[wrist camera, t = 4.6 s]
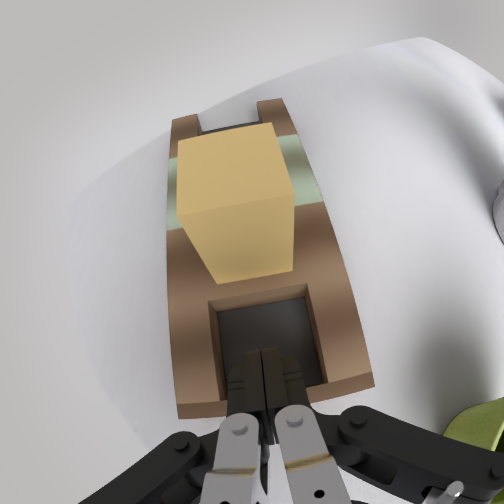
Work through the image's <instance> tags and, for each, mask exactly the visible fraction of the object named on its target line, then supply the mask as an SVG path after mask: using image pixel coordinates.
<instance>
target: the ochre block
mask: <svg viewBox="0 0 504 504" xmlns="http://www.w3.org/2000/svg"><path fill="white" fill-rule="evenodd" d="M294 200H295V193H294V190H293V187H292V183H291V180H290V177H289V174H288V171H287V168H286V164H285V161H284V158H283V155H282V152H281V149H280V146H279V143H278V140H277V137H276V134H275V131H274V128H273V125H272V122H269V123H263V124H257V125H251V126H245V127H240V128H234V129H229V130H224V131H219V132H215V133H210V134H206V135H201V136H197V137H193V138H188V139H184V140H180V141H178V156H177V218H178V220H179V222H180V223H181V225H182V227H183V228H184V230H185V232H186V234H187V235H188V237H189V239H190V240H191V242H192V244H193V245H194V247H195V249H196V251H197V252H198V254H199V256H200V257H201V259H202V261H203V262H204V264H205V265H206V267H207V269H208V270H209V272H210V274H211V275H212V277H213V279H214V280H215V282H216V283H217V284H223V283H229V282H234V281H240V280H246V279H251V278H257V277H262V276H268V275H273V274H278V273H284V272H289V271H293V243H294Z"/></svg>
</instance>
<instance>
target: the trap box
mask: <svg viewBox="0 0 504 504" xmlns="http://www.w3.org/2000/svg"><path fill="white" fill-rule="evenodd" d="M257 109H258V117H259V121H257V122H251V123H245V124H239V125H234V126H229V127H224V128H219V129H214V130H210V131H205V132H203V133H202V130H201V126H200V123H199V120H198V116H197V114H193V115H189V116H185V117H181V118H177V119H174V120H172V128H171V140H170V153H169V170H168V192H167V291H168V313H169V330H170V344H171V356H172V367H173V377H174V386H175V395H176V403H177V411H178V418H179V419H195V418H211V417H223V416H227V396H228V378H229V372H230V371H231V369H232V368H233V366H234V365H240V364H244V352H251V351H257V350H261V354H262V349H268V348H274V347H278V349H279V355H280V358H282V357H287V356H293V357H294V358H295V359H296V360H297V361H298V362H299V365H300V368H301V372H302V376H303V380H304V383H305V387H306V391H307V395H308V399H309V403H314V402H319V401H323V400H327V399H332V398H336V397H340V396H344V395H347V394H351V393H355V392H358V391H362V390H365V389H369V388H372V387H375V384H374V379H373V374H372V370H371V365H370V360H369V356H368V351H367V347H366V343H365V339H364V334H363V330H362V326H361V322H360V319H359V315H358V311H357V307H356V303H355V300H354V296H353V292H352V289H351V285H350V282H349V278H348V275H347V272H346V268H345V265H344V262H343V258H342V255H341V252H340V249H339V246H338V242H337V239H336V236H335V233H334V230H333V227H332V224H331V221H330V218H329V215H328V213H327V210H326V207H325V204H324V201H323V198H322V196H321V193H320V190H319V187H318V185H317V182H316V179H315V177H314V174H313V171H312V169H311V166H310V164H309V161H308V159H307V156H306V154H305V151H304V149H303V146H302V144H301V141H300V139H299V136H298V134H297V132H296V129H295V127H294V125H293V122H292V120H291V118H290V115H289V113H288V111H287V109H286V106H285V104H284V102H283V100H282V98H280V99H273V100H266V101H259V102H257ZM269 122H272V125H273V128H274V131H275V134H276V137H277V140H278V143H279V146H280V149H281V152H282V155H283V158H284V161H285V164H286V168H287V171H288V174H289V177H290V180H291V183H292V187H293V190H294V193H295V200H294V243H293V271H289V272H284V273H278V274H273V275H268V276H262V277H257V278H251V279H246V280H240V281H234V282H229V283H223V284H217V283H216V282H215V280H214V279H213V277H212V275H211V274H210V272H209V270H208V269H207V267H206V265H205V264H204V262H203V261H202V259H201V257H200V256H199V254H198V252H197V251H196V249H195V247H194V245H193V244H192V242H191V240H190V239H189V237H188V235H187V234H186V232H185V230H184V228H183V227H182V225H181V223H180V222H179V220H178V218H177V156H178V141H180V140H184V139H188V138H193V137H197V136H201V135H206V134H210V133H215V132H219V131H224V130H229V129H234V128H240V127H245V126H251V125H257V124H263V123H269ZM304 298H305V299H304ZM305 302H306V303H305ZM306 307H307V308H306ZM307 311H308V312H307ZM308 316H309V317H308ZM310 325H311V326H310ZM311 330H312V331H311ZM313 339H314V340H313ZM314 344H315V345H314ZM315 349H316V350H315ZM316 354H317V355H316ZM317 359H318V360H317ZM318 364H319V365H318ZM319 369H320V370H319ZM320 374H321V375H320ZM321 380H322V381H321ZM320 383H322V384H320ZM316 384H319V385H316ZM311 385H314V386H311ZM307 386H310V387H307Z"/></svg>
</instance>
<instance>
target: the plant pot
mask: <svg viewBox="0 0 504 504" xmlns="http://www.w3.org/2000/svg"><path fill="white" fill-rule="evenodd" d="M443 436H445V437H448V438H451V439H454V440H457V441H461V442H464V443H467V444H470V445H474V446H477V447H481V448H484V449H488V450H492V451H495V452H499V453H503V454H504V397H502V398H499V399H496V400H493V401H490V402H487V403H484V404H480V405H477V406H473V407H470V408H468V409H466V410H464V411H462V412H461V413H460V414H458V415H457V416H456V417H455V418H454V419H453V420H452V421H451V423H450V424H449V426H448V427H447V429H446V430H445V432H444V434H443ZM490 504H504V488H503V489H502V490H501V491H500V492H499V493H498V494H497V495H496V496H495V497H494V498H493V499H492V501H491V503H490Z"/></svg>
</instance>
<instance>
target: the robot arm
mask: <svg viewBox="0 0 504 504" xmlns="http://www.w3.org/2000/svg"><path fill="white" fill-rule="evenodd" d="M493 217H494V221H495V225H496V228H497V230H498V233H499V235H500V237H501V239H502V241H503V243H504V181H503V182H502V184H501V185H500V187H499V188H498V196H497V198H496V199H495V201H494V204H493ZM273 433H274V434H273ZM274 437H275V441H276V444H280V448H281V452H282V457H283V461H284V465H285V470H286V474H287V478H288V482H289V487H290V491H291V495H292V499H293V503H294V504H368V503H365V502H361V501H355V500H350V498H349V495H348V492H347V490H346V487H345V485H344V482H343V479H342V477H341V474H340V472H339V469H338V466H339V467H340V468H341V469H343V470H344V471H346V472H348V473H350V474H352V475H354V476H356V477H357V478H359V479H361V480H363V481H365V482H367V483H369V484H371V485H373V486H375V487H377V488H380V489H382V490H384V491H386V492H388V493H390V494H392V495H395V496H397V497H399V498H402V499H404V500H406V501H409V502H411V503H414V504H490V503H491V501H492V499H493V498H494V497H495V496H496V495H497V494H498V493H499V492H500V491H501V490H502V489H503V488H504V454H503V453H499V452H495V451H492V450H488V449H484V448H481V447H477V446H474V445H470V444H467V443H464V442H461V441H457V440H454V439H451V438H448V437H445V436H442V435H439V434H436V433H434V432H431V431H428V430H425V429H422V428H420V427H417V426H414V425H412V424H409V423H407V422H404V421H401V420H399V419H396V418H394V417H391V416H389V415H386V414H384V413H382V412H379V411H377V410H375V409H372V408H370V407H367V406H353V407H350V408H348V409H346V410H345V411H343V412H342V413H341V415H324V414H321V413H318V412H316V411H315V410H314V409H313V408H312V407H311V405H310V403H309V399H308V395H307V391H306V387H305V383H304V380H303V376H302V372H301V368H300V365H299V362H298V361H297V360H296V359H295V358H294V357H293V356H287V357H282V358H280V355H279V349H278V347H274V348H268V349H262V354H261V350H257V351H251V352H244V364H240V365H234V366H233V368H232V369H231V371H230V372H229V378H228V396H227V416H226V419H225V420H224V421H223V422H222V423H221V425H220V428H219V429H218V430H216V431H214V432H212V433H210V434H207V435H204V436H200V437H197V436H196V435H195V434H193V433H191V432H187V431H182V432H177V433H174V434H172V435H171V436H169V437H168V438H167V439H165V440H164V441H163V442H162V443H161V444H159V445H158V446H157V447H156V448H154V449H153V450H152V451H151V452H149V453H148V454H147V455H145V456H144V457H143V458H142V459H140V460H139V461H138V462H137V463H135V464H134V465H132V466H131V467H130V468H128V469H127V470H126V471H125V472H123V473H122V474H120V475H119V476H118V477H116V478H115V479H113V480H112V481H111V482H110V483H108V484H107V485H105V486H104V487H102V488H101V489H99V490H98V491H96V492H95V493H93V494H92V495H90V496H89V497H87V498H86V499H84V500H83V501H81V502H80V503H78V504H199V503H200V504H270V459H269V457H270V453H269V445H274V444H275V443H274ZM337 465H338V466H337Z"/></svg>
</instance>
